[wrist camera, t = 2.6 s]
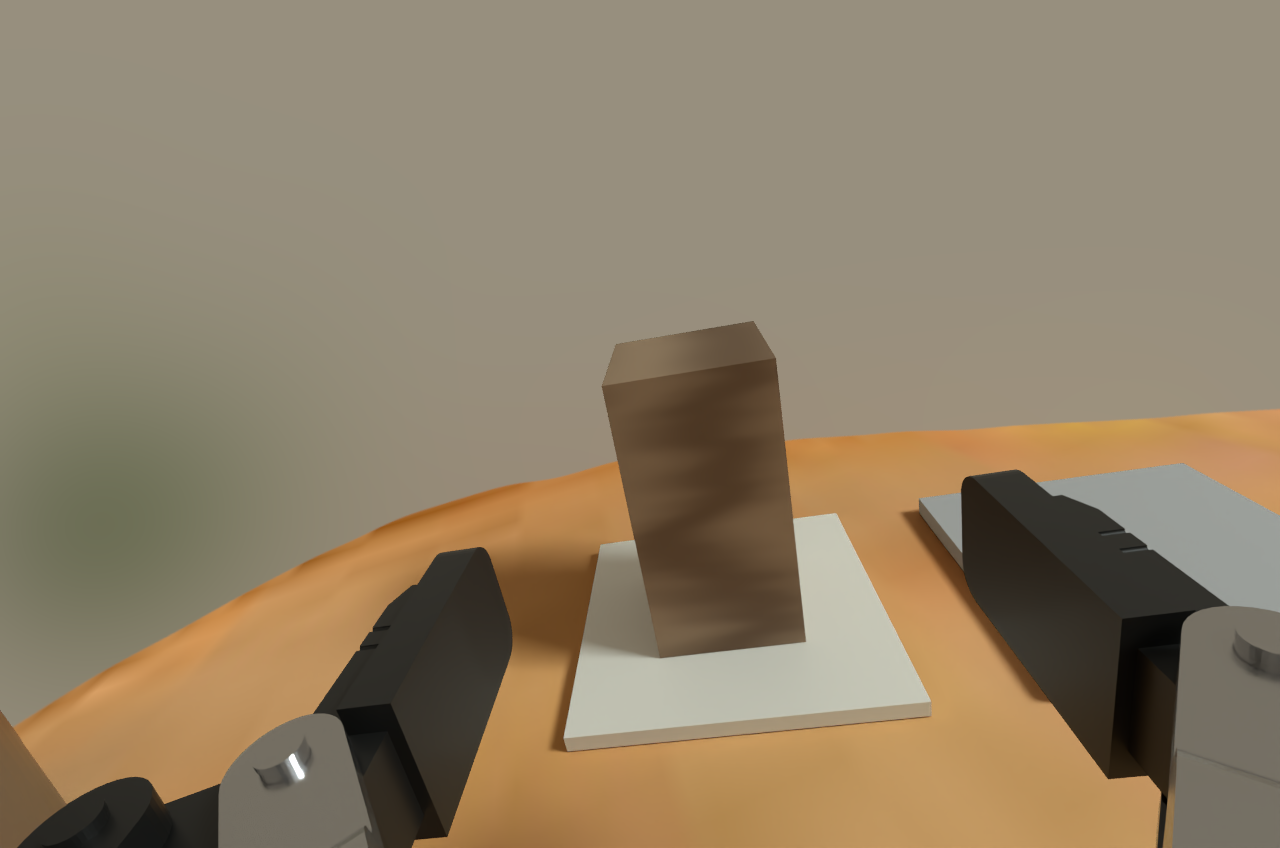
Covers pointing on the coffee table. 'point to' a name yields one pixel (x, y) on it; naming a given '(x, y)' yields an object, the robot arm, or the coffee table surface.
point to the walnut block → (707, 488)
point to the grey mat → (1168, 527)
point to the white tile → (741, 659)
